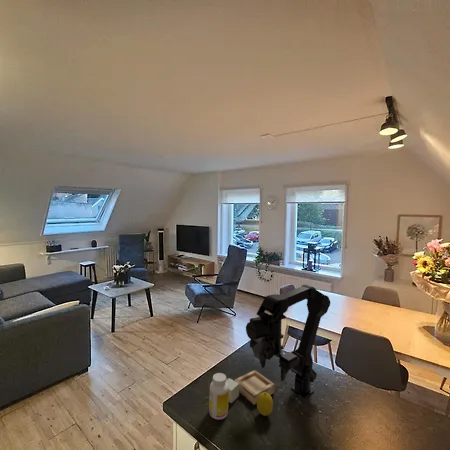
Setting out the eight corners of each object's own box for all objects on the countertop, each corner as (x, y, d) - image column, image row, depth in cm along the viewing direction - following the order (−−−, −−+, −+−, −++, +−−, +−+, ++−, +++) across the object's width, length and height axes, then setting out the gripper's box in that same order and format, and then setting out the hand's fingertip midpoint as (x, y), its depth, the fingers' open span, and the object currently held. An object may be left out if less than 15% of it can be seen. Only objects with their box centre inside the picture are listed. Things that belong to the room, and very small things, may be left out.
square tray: (254, 377, 107) (254, 369, 107) (274, 392, 99) (274, 384, 99) (234, 388, 101) (235, 379, 101) (253, 405, 92) (254, 395, 92)
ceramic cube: (228, 390, 100) (228, 377, 99) (238, 396, 96) (239, 383, 96) (220, 397, 96) (220, 384, 95) (231, 403, 92) (231, 390, 92)
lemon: (270, 409, 90) (271, 387, 90) (274, 421, 85) (275, 398, 84) (255, 409, 90) (256, 387, 90) (257, 421, 85) (258, 398, 84)
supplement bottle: (231, 410, 89) (232, 375, 88) (221, 423, 83) (223, 386, 83) (215, 403, 92) (216, 368, 92) (205, 415, 87) (206, 378, 86)
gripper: (239, 328, 93) (238, 369, 94) (278, 351, 78) (277, 399, 79) (260, 320, 100) (259, 358, 100) (300, 339, 85) (299, 384, 86)
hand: (272, 373), depth 91 cm, fingers open, 9 cm apart
